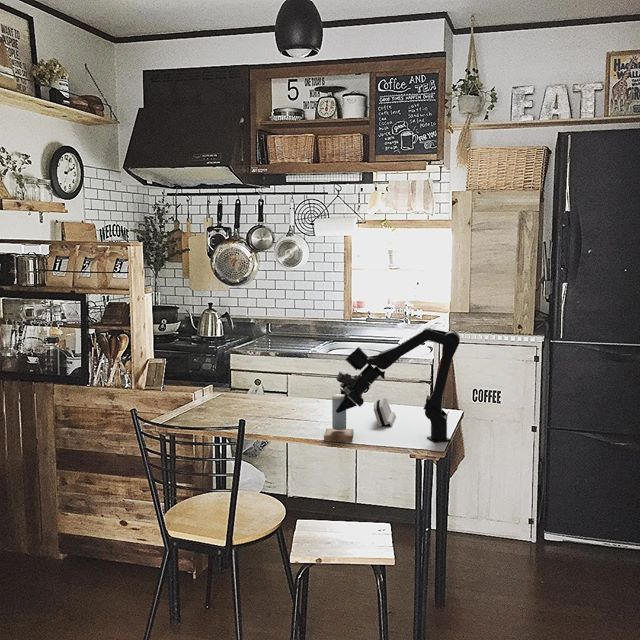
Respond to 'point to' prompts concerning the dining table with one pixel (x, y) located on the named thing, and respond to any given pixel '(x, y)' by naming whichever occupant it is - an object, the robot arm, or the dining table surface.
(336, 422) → the tin
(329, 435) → the stand
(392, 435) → the dining table surface
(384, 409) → the hinge
